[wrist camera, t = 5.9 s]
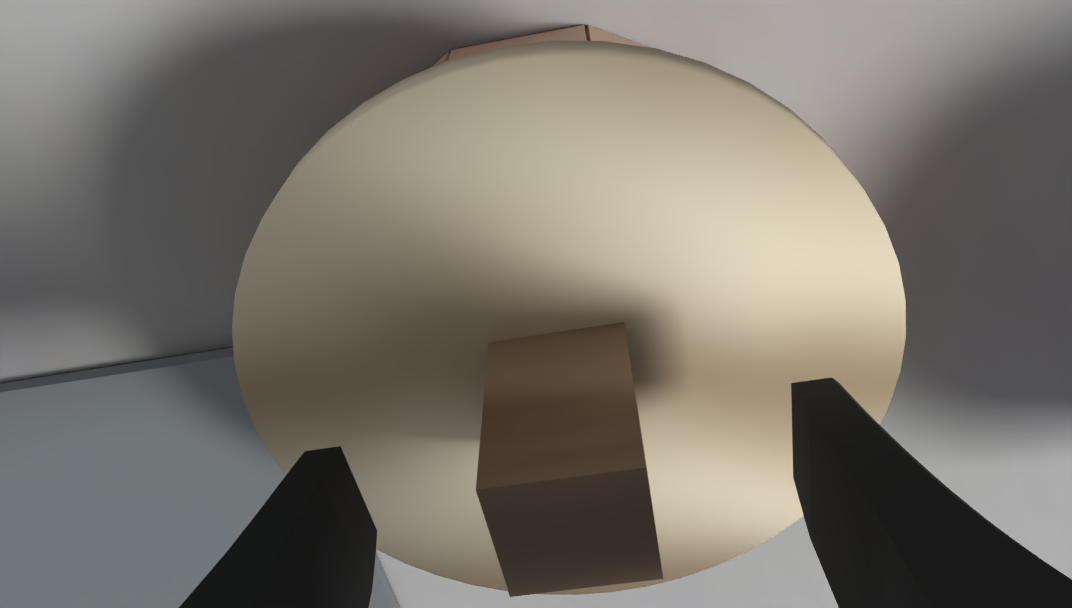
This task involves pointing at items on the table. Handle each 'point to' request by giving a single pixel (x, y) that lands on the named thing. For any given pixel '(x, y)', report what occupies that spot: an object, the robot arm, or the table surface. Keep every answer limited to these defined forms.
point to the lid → (565, 313)
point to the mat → (129, 483)
